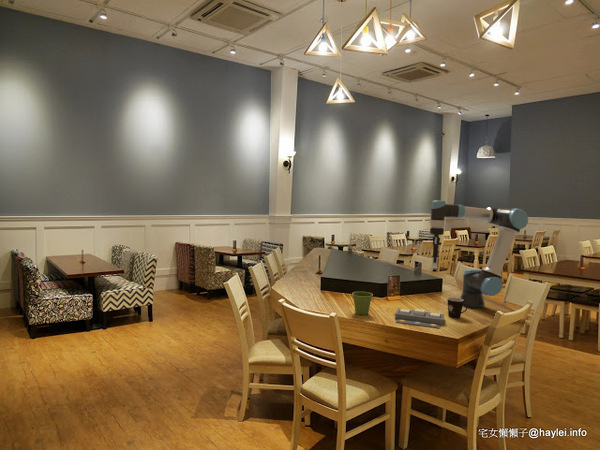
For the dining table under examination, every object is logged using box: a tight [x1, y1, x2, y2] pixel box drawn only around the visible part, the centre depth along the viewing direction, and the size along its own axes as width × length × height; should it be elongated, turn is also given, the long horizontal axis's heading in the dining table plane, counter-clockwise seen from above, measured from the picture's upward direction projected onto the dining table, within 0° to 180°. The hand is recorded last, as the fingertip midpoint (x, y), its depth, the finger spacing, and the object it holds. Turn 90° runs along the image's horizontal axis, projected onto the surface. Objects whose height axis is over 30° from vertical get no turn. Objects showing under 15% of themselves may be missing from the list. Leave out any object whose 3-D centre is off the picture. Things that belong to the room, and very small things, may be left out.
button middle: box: [414, 308, 426, 316], centre depth 237 cm, size 5×5×2 cm
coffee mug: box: [446, 297, 468, 319], centre depth 243 cm, size 12×9×10 cm
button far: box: [400, 308, 411, 314], centre depth 240 cm, size 5×5×2 cm
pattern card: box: [395, 319, 441, 329], centre depth 229 cm, size 22×6×1 cm, turn 69°
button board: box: [394, 307, 445, 326], centre depth 237 cm, size 25×12×3 cm, turn 69°
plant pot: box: [351, 291, 374, 316], centre depth 244 cm, size 12×12×11 cm
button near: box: [430, 312, 441, 318], centre depth 235 cm, size 5×5×2 cm
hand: (434, 268), depth 248 cm, fingers closed
